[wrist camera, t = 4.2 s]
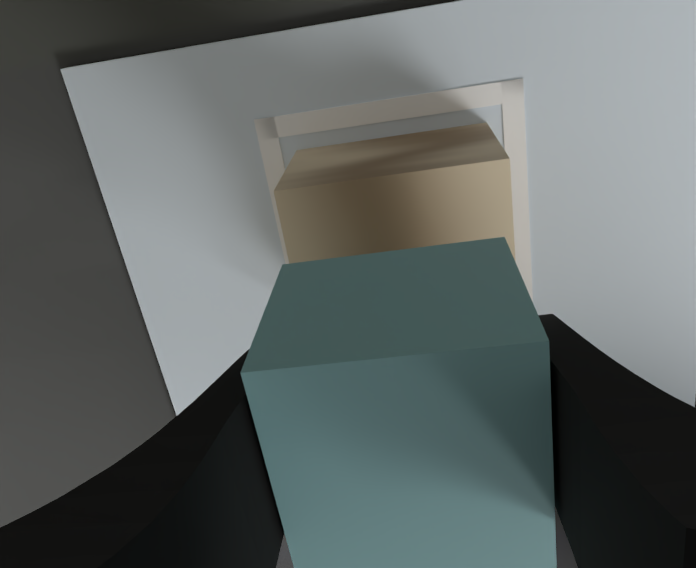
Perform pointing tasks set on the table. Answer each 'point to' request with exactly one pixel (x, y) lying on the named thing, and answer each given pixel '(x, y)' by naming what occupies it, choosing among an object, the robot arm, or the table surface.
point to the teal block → (407, 410)
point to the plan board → (404, 118)
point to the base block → (396, 194)
